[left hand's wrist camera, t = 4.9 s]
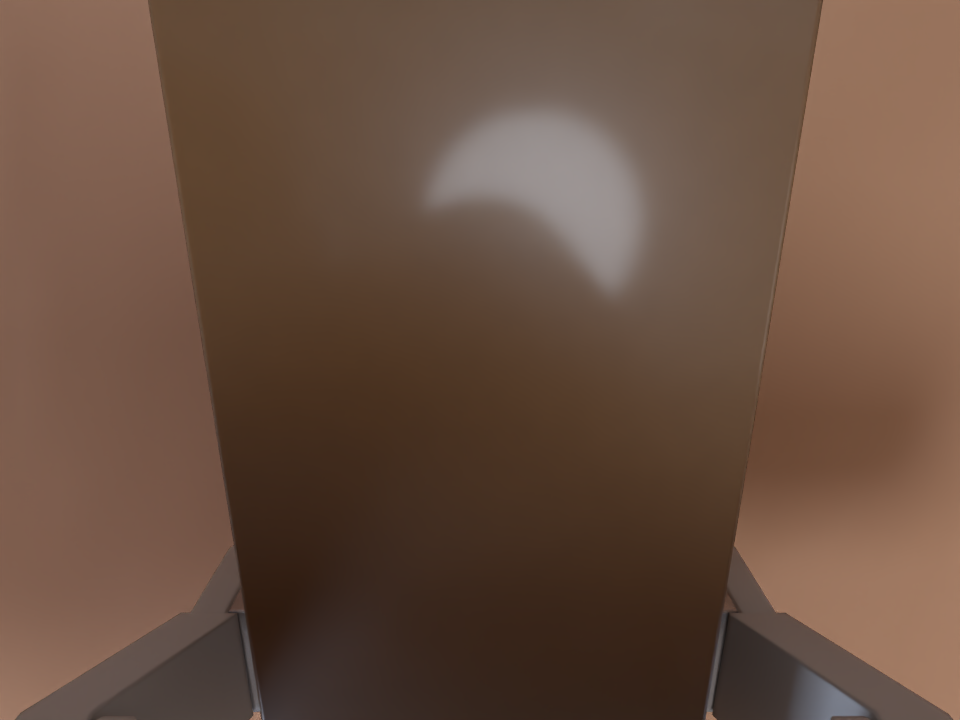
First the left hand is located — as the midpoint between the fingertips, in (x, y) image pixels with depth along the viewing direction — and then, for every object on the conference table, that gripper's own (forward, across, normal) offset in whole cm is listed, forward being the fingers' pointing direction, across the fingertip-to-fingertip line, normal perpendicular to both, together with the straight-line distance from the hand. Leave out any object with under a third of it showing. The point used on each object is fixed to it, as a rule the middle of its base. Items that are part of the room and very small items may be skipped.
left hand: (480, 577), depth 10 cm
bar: (+3, 0, -21) cm, 21 cm away
